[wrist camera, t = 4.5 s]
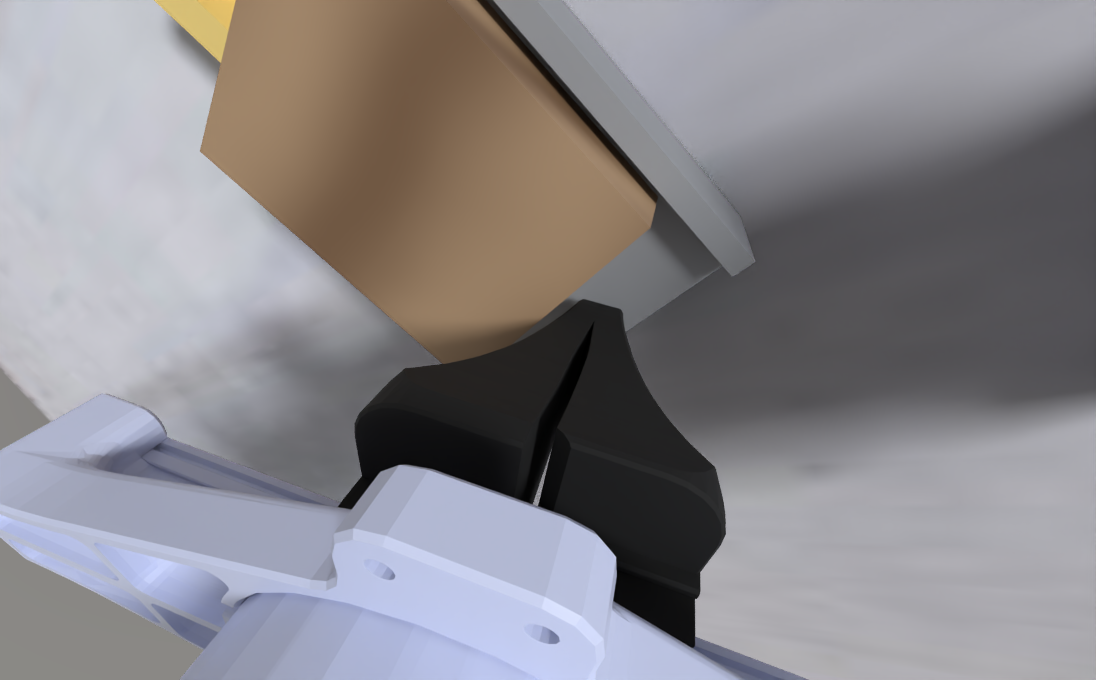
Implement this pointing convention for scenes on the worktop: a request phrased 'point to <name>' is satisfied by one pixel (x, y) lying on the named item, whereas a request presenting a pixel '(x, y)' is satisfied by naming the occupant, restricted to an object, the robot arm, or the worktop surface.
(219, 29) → the yellow square tray
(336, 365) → the worktop surface
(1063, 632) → the worktop surface
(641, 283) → the grey piece
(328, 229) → the cover
